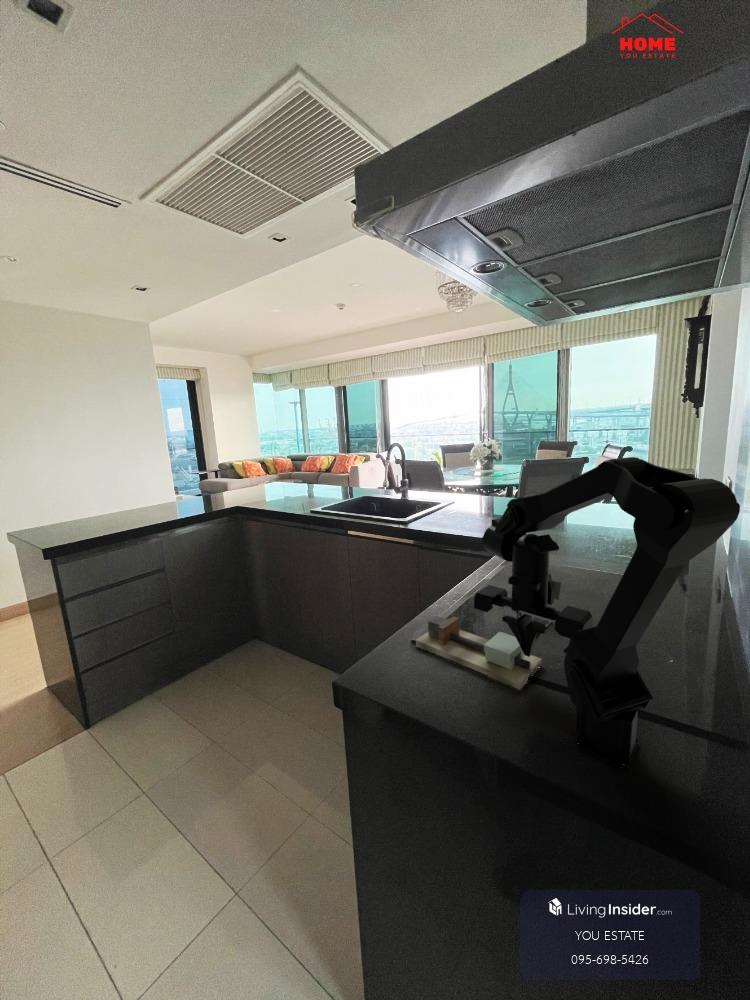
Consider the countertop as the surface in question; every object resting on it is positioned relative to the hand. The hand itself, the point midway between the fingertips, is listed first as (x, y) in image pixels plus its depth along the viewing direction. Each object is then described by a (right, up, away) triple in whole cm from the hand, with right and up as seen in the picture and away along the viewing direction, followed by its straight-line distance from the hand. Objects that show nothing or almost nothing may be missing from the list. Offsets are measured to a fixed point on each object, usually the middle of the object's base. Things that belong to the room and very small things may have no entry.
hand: (528, 655), depth 72 cm
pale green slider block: (-3, -2, +3) cm, 5 cm away
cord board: (-7, -3, +8) cm, 11 cm away
